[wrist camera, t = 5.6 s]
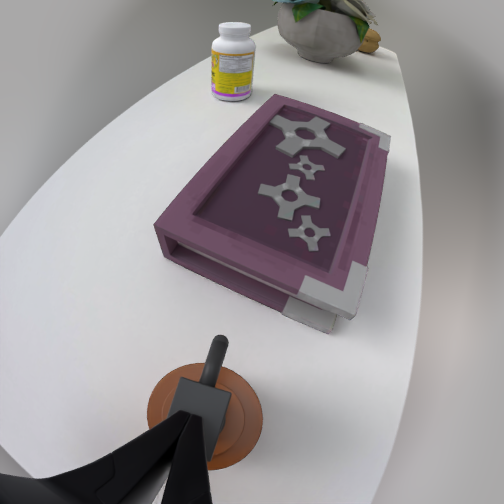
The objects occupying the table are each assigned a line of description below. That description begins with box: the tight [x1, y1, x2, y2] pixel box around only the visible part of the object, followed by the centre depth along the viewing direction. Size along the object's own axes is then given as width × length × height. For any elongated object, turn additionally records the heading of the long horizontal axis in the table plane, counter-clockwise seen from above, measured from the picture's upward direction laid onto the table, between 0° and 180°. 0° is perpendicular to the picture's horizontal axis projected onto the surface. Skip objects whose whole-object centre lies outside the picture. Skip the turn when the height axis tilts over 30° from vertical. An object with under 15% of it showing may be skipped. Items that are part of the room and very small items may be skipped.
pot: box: [358, 28, 381, 53], centre depth 67 cm, size 12×12×10 cm
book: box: [153, 94, 391, 334], centre depth 28 cm, size 25×16×5 cm, turn 155°
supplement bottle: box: [212, 22, 256, 101], centre depth 37 cm, size 7×7×13 cm
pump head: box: [167, 335, 232, 462], centre depth 11 cm, size 6×2×2 cm, turn 165°
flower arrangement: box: [272, 0, 378, 63], centre depth 48 cm, size 25×25×24 cm
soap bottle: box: [147, 363, 263, 470], centre depth 15 cm, size 6×6×7 cm
